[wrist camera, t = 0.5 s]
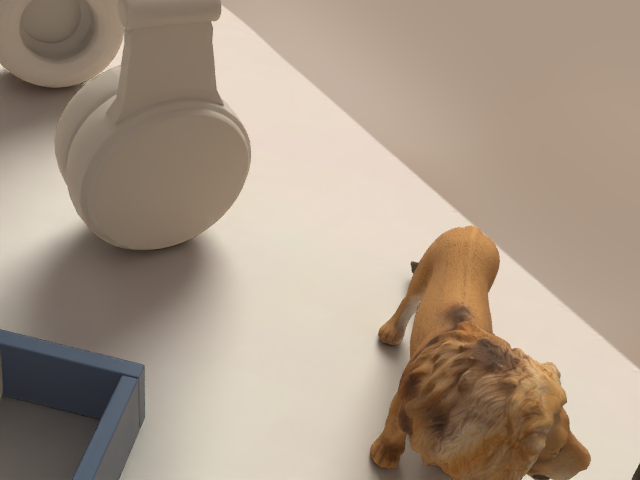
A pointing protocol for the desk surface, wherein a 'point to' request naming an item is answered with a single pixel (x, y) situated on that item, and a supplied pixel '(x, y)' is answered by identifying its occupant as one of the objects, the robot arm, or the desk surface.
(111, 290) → the desk surface
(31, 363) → the box
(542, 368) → the lion figurine
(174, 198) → the headphones
